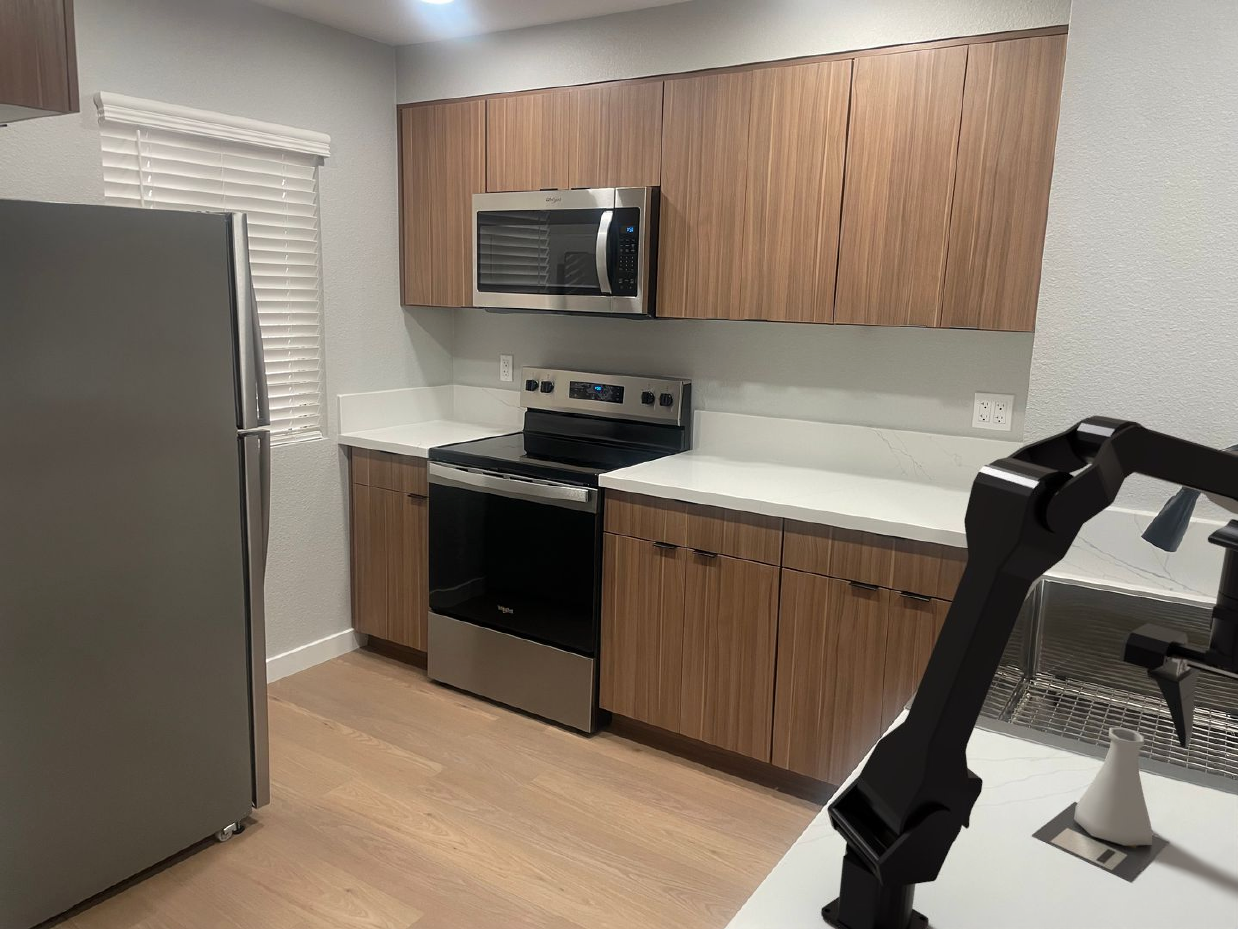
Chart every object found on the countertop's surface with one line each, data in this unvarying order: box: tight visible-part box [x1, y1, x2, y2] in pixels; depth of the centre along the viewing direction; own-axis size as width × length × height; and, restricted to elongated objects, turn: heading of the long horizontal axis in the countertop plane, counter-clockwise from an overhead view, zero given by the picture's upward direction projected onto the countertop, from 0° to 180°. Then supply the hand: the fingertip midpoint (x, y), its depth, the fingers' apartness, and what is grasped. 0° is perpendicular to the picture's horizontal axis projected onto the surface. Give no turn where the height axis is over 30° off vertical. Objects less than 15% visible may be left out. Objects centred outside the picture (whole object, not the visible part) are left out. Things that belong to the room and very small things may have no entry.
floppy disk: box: [1031, 801, 1170, 882], centre depth 89 cm, size 10×9×1 cm
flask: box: [1074, 727, 1153, 845], centre depth 90 cm, size 7×7×10 cm
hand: (1227, 761), depth 83 cm, fingers open, 7 cm apart
